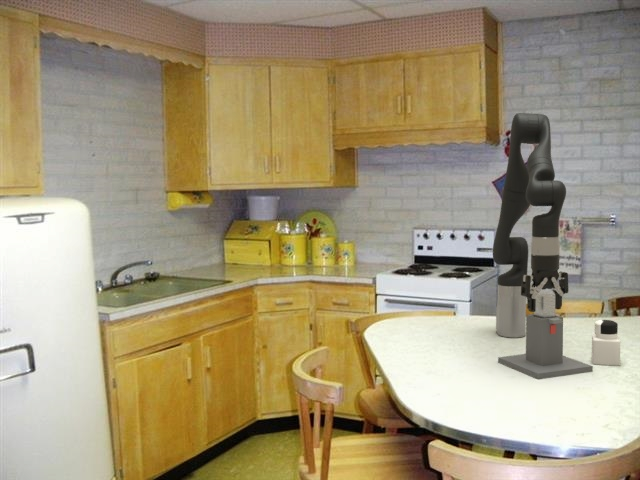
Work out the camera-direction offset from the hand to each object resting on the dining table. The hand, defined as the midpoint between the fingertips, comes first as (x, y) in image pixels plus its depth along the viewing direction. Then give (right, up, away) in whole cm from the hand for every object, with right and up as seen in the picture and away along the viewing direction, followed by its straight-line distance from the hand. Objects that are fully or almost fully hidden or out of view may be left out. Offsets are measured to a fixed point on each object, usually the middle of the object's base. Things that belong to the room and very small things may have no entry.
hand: (544, 310), depth 190 cm
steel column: (0, -14, +1) cm, 14 cm away
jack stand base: (0, -16, +2) cm, 16 cm away
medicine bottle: (+19, -16, +5) cm, 25 cm away
